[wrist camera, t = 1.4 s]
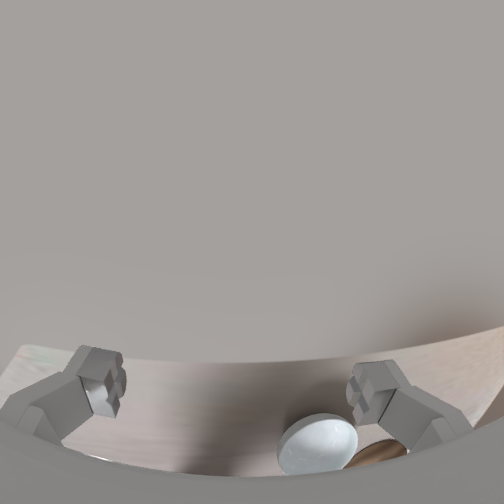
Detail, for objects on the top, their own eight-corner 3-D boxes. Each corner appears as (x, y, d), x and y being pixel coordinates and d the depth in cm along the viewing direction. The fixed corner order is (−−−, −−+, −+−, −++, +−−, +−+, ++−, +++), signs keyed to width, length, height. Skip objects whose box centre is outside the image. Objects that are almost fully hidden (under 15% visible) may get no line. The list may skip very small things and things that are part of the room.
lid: (414, 459, 57) (425, 469, 51) (358, 504, 55) (366, 516, 49) (386, 427, 57) (398, 437, 51) (322, 478, 55) (329, 492, 49)
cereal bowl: (310, 473, 54) (319, 490, 47) (256, 446, 53) (260, 464, 46) (360, 423, 56) (374, 437, 49) (310, 391, 55) (320, 405, 48)
